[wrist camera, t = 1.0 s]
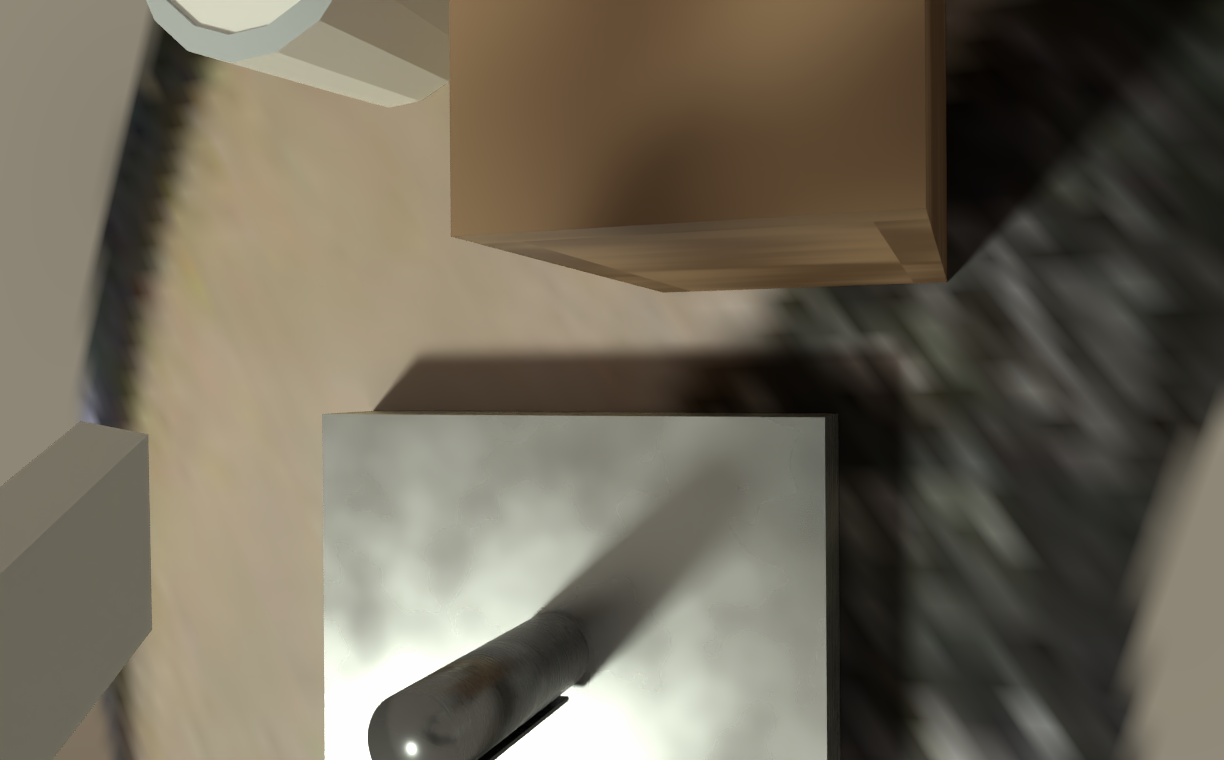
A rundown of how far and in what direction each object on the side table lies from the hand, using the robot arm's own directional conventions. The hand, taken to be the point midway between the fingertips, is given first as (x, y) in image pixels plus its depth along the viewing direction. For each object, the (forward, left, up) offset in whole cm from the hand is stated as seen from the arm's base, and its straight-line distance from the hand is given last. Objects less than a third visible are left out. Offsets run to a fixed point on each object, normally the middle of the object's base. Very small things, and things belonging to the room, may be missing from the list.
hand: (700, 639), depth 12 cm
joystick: (+7, +5, -15) cm, 18 cm away
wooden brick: (+1, -9, -15) cm, 18 cm away
